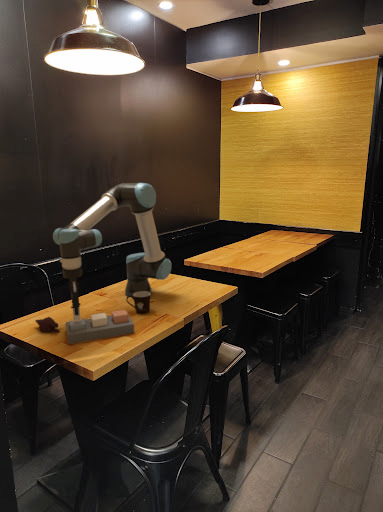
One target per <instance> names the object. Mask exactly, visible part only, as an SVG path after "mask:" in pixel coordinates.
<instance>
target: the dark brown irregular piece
mask: <svg viewBox="0 0 383 512" xmlns="http://www.w3.org/2000/svg"><path fill="white" fill-rule="evenodd" d="M35 323H36V324H37V325H38V329H39V331H40V332H43V333H51V332H54V333H56V334H59V333H61V330H59V329H58V328H59V324H58V322H56V321H55V320H54V319H53V318H52V317H50V316H48V317H45V318H42V319H40V318H39V319H35Z"/></svg>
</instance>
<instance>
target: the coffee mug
mask: <svg viewBox="0 0 383 512" xmlns="http://www.w3.org/2000/svg"><path fill="white" fill-rule="evenodd" d="M151 295H152V293H150V292H146V291H141V292H136V293H134V294H133V297H132V296H127V297H126V301H125V302H127V303H128V305H130V306H131V307H133V308H134V309H135V312H136V314H138V315H144V314H145V315H146V314H148V313H150V309H151ZM129 298H132V300H133V302H134V303H133V304H134V305H133V304H132V303H131V302H129V300H128V299H129Z"/></svg>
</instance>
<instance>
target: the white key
mask: <svg viewBox="0 0 383 512" xmlns="http://www.w3.org/2000/svg"><path fill="white" fill-rule="evenodd" d="M106 316H107V315H106V312H102V313H101V312H100V313H94V314H90V318H91V324H92V327H98V326H104V325H107V317H106Z"/></svg>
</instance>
